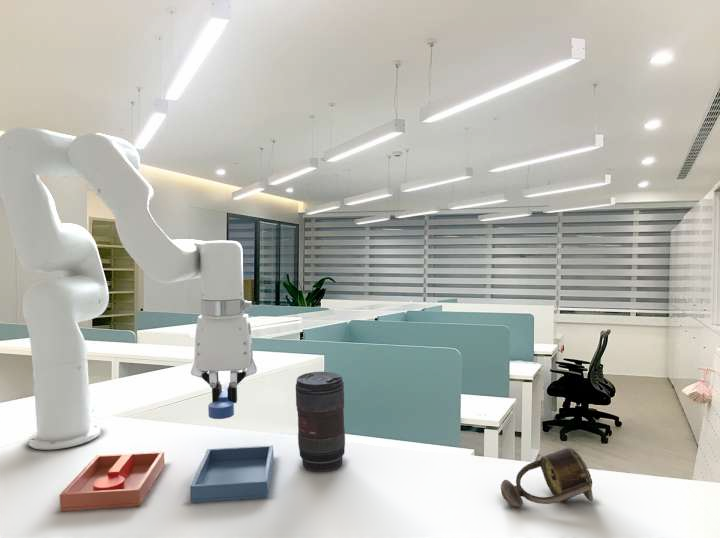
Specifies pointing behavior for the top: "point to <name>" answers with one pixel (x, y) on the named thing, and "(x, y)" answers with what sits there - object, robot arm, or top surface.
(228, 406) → the blue spoon
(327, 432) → the camera lens
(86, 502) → the red tray
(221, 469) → the blue tray
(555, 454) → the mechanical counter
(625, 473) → the top surface
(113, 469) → the red spoon
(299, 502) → the top surface
